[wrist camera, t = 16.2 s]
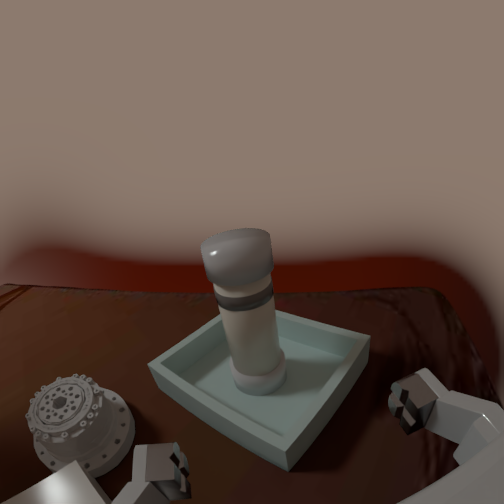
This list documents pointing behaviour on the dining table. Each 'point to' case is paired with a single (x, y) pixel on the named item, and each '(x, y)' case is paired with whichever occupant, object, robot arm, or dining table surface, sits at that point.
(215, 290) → the grey peg
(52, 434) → the mechanical component
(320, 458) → the dining table surface
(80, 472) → the grey square frame
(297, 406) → the parts tray
